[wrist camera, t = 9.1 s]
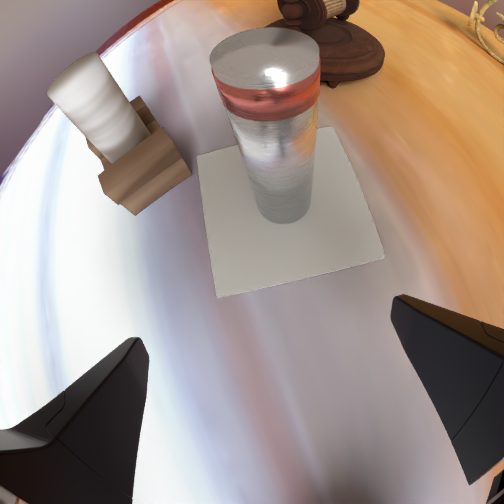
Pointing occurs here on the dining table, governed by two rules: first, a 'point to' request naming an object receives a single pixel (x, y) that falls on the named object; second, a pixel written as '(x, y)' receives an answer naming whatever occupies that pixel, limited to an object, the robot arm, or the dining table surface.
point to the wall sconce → (481, 19)
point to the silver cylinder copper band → (272, 114)
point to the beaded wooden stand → (334, 37)
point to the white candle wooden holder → (119, 134)
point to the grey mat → (284, 235)
